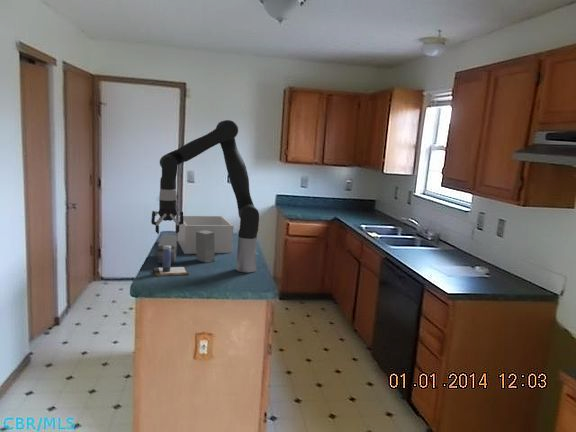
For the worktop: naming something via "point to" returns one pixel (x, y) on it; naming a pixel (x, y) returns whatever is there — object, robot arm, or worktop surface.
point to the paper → (173, 270)
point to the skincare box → (205, 246)
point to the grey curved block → (169, 241)
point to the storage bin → (208, 223)
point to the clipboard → (170, 273)
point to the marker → (166, 258)
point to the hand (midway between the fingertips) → (167, 233)
